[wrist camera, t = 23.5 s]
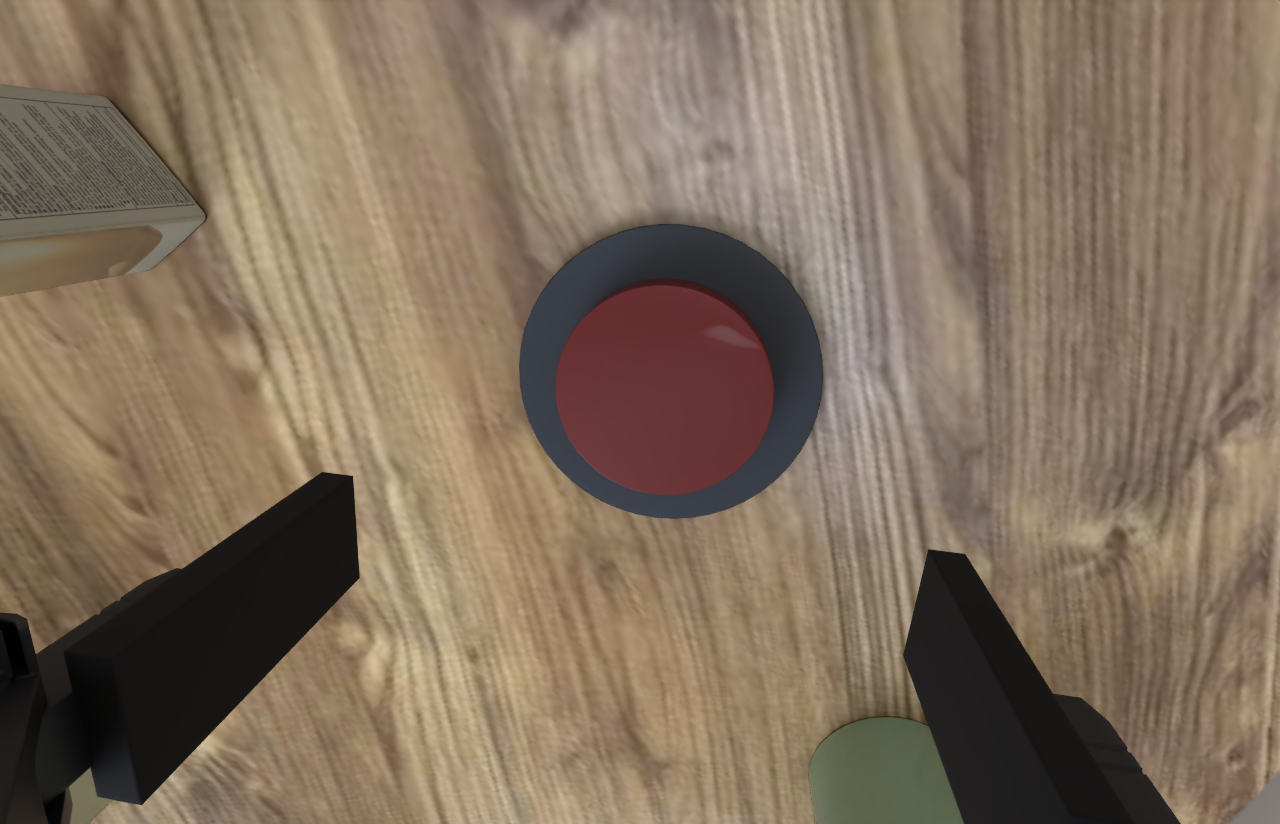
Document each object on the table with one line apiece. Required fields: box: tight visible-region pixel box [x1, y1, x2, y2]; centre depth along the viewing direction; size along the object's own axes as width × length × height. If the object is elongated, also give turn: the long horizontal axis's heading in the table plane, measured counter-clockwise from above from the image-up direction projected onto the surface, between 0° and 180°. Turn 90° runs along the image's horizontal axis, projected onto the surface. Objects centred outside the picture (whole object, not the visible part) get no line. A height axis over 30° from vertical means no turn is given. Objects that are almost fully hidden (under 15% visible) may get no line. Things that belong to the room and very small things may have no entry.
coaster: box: [519, 224, 823, 519], centre depth 30 cm, size 13×13×1 cm
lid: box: [555, 279, 774, 495], centre depth 28 cm, size 9×9×2 cm
